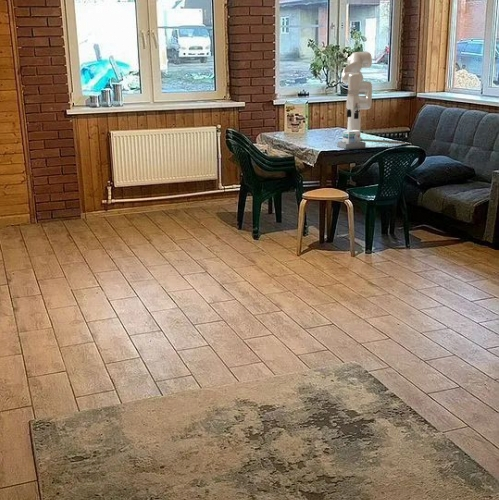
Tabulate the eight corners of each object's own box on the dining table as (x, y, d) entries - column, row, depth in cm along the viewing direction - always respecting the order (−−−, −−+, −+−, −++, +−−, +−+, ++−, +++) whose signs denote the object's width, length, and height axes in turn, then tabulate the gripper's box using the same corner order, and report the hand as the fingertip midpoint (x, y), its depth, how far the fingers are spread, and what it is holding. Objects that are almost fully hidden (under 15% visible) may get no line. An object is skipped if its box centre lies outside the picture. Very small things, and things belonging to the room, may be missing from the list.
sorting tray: (337, 146, 497) (337, 141, 496) (356, 145, 502) (357, 140, 501) (345, 149, 487) (345, 144, 486) (365, 147, 492) (365, 142, 491)
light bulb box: (348, 147, 489) (349, 131, 486) (342, 146, 495) (342, 130, 491) (360, 146, 495) (361, 130, 492) (353, 144, 500) (354, 129, 497)
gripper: (342, 91, 490) (341, 116, 495) (355, 93, 475) (354, 119, 480) (351, 91, 492) (351, 116, 498) (364, 93, 477) (363, 119, 483)
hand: (352, 117), depth 489 cm, fingers open, 9 cm apart
